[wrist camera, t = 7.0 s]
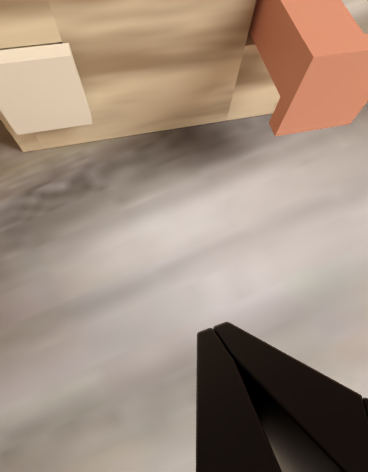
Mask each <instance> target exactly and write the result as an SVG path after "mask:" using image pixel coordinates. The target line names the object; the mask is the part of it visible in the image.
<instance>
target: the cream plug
mask: <svg viewBox="0 0 368 472" xmlns="http://www.w3.org/2000/svg"><path fill="white" fill-rule="evenodd" d="M0 111H1V112H2V114H3V115H4V117H5V118H6V120H7V121H8V123H9V124H10V125H11V127H12V128H13V130H14V131H15V133H16V134H17V135H20V134H27V133H34V132H41V131H48V130H54V129H61V128H68V127H75V126H82V125H88V124H92V118H91V112H90V109H89V106H88V103H87V99H86V96H85V93H84V90H83V87H82V84H81V80H80V77H79V74H78V71H77V68H76V65H75V61H74V58H73V55H72V52H71V49H70V46H69V43H62V42H57V43H47V44H38V45H29V46H20V47H10V48H1V49H0Z"/></svg>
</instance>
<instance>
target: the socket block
mask: <svg viewBox="0 0 368 472" xmlns="http://www.w3.org/2000/svg"><path fill="white" fill-rule="evenodd" d="M255 4H256V0H0V49H1V48H10V47H20V46H29V45H38V44H47V43H57V42H62V43H69V46H70V49H71V52H72V55H73V58H74V61H75V65H76V68H77V71H78V74H79V77H80V80H81V84H82V87H83V90H84V93H85V96H86V99H87V103H88V106H89V109H90V112H91V118H92V124H88V125H82V126H75V127H68V128H61V129H54V130H48V131H41V132H34V133H27V134H20V135H17V134H16V133H15V131H14V130H13V128H12V127H11V125H10V124H9V123H8V121H7V120H6V118H5V117H4V115H3V114H2V112H1V111H0V120H1V121H2V123H3V124H4V125H5V127H6V128H7V130H8V131H9V132H10V134H11V135H12V137H13V138H14V140H15V141H16V142H17V144H18V145H19V147H20V148H21V149H22V151H23V152H27V151H34V150H40V149H47V148H53V147H60V146H66V145H72V144H79V143H85V142H92V141H98V140H105V139H111V138H118V137H124V136H130V135H137V134H143V133H150V132H156V131H163V130H169V129H176V128H182V127H188V126H195V125H201V124H208V123H214V122H221V121H227V120H234V119H240V118H246V117H253V116H259V115H266V114H272V113H273V112H274V110H275V108H276V106H277V103H278V101H279V99H280V95H279V93H278V91H277V89H276V87H275V85H274V83H273V80H272V78H271V76H270V74H269V72H268V70H267V68H266V66H265V64H264V62H263V60H262V58H261V56H260V53H259V51H258V49H257V47H256V45H255V43H254V41H253V39H252V37H251V35H250V33H249V28H250V24H251V20H252V16H253V12H254V8H255Z"/></svg>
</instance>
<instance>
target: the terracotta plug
mask: <svg viewBox="0 0 368 472" xmlns="http://www.w3.org/2000/svg"><path fill="white" fill-rule="evenodd" d="M249 33H250V35H251V37H252V39H253V41H254V43H255V45H256V47H257V49H258V51H259V53H260V56H261V58H262V60H263V62H264V64H265V66H266V68H267V70H268V72H269V74H270V76H271V78H272V80H273V83H274V85H275V87H276V89H277V91H278V93H279V95H280V99H279V101H278V103H277V106H276V108H275V110H274V112H273V115H272V117H271V119H270V122H269V124H270V126H271V128H272V131H273V133H274V135H275V136H280V135H286V134H292V133H298V132H304V131H310V130H316V129H322V128H328V127H334V126H339V125H345V124H350V123H351V122H352V121H353V119H354V118H355V117H356V116H357V114H358V113H359V112H360V111H361V109H362V108H363V107H364V105H365V104H366V103H367V102H368V34H364V33H363V32H362V30H361V29H360V27H359V26H358V24H357V23H356V22H355V20H354V19H353V17H352V16H351V14H350V13H349V11H348V10H347V8H346V7H345V6H344V4H343V3H342V1H341V0H256V4H255V8H254V12H253V16H252V20H251V24H250V28H249Z"/></svg>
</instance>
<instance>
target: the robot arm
mask: <svg viewBox="0 0 368 472" xmlns="http://www.w3.org/2000/svg"><path fill="white" fill-rule="evenodd" d="M196 472H368V398H362V396H361V395H360V394H358V393H356V392H355V391H353V390H351V389H349V388H347V387H345V386H344V385H342V384H340V383H338V382H336V381H335V380H333V379H331V378H329V377H327V376H325V375H324V374H322V373H320V372H318V371H316V370H315V369H313V368H311V367H309V366H307V365H306V364H304V363H302V362H300V361H298V360H296V359H295V358H293V357H291V356H289V355H287V354H286V353H284V352H282V351H280V350H278V349H276V348H275V347H273V346H271V345H269V344H267V343H266V342H264V341H262V340H260V339H258V338H257V337H255V336H253V335H251V334H249V333H247V332H246V331H244V330H242V329H240V328H238V327H237V326H235V325H233V324H231V323H229V322H224V323H222V324H219V325H216V326H214V328H213V329H212V328H208V329H206V330H203V331H200V332H198V333H197V393H196Z"/></svg>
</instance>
